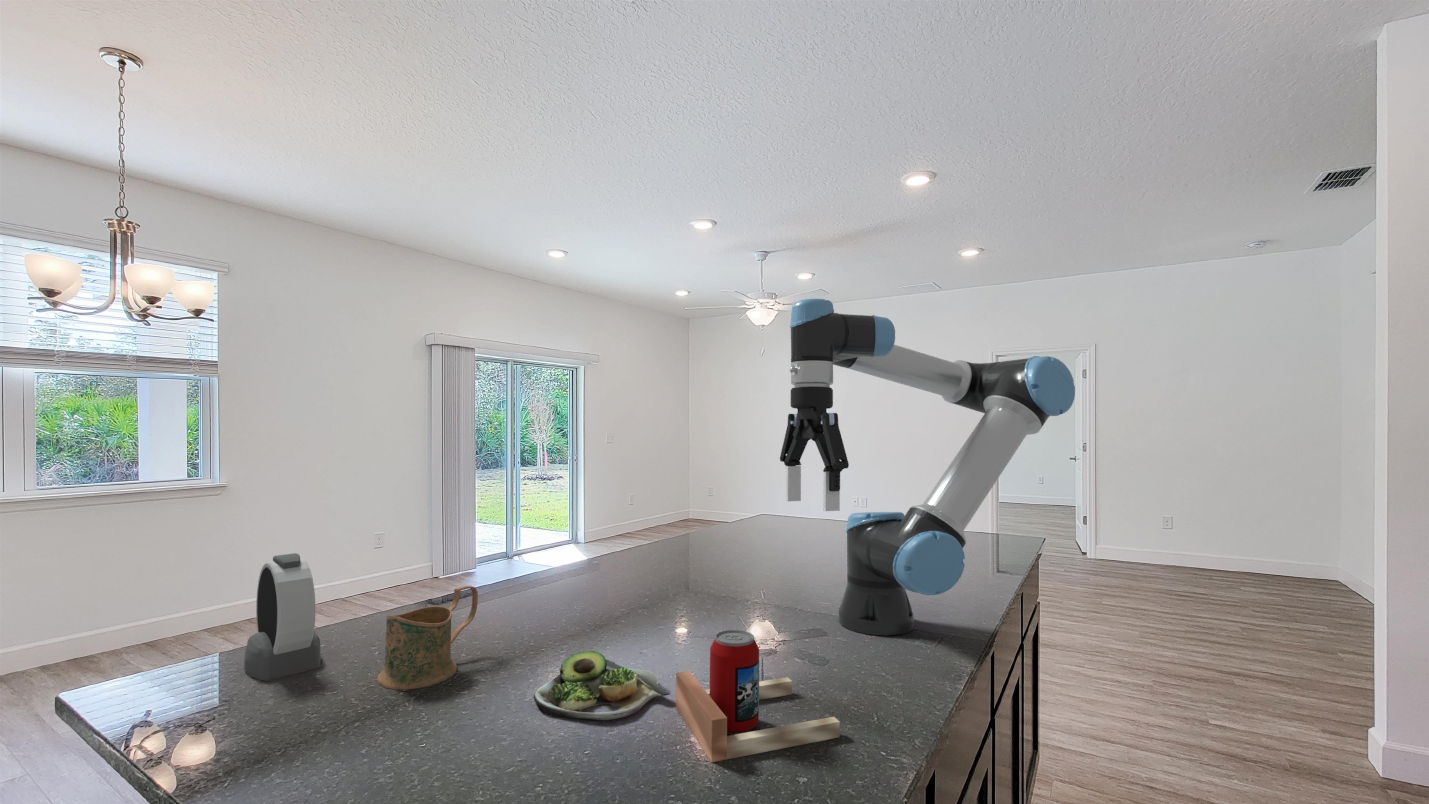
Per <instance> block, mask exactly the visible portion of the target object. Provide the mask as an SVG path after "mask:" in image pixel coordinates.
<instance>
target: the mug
mask: <svg viewBox="0 0 1429 804" xmlns="http://www.w3.org/2000/svg"><path fill="white" fill-rule="evenodd" d="M468 589H469V590H471V596H472V597H471V598H472V601H471V608H470V611H469V614H468V617H467V618H466V619H465V621H463V622H462V623H461V624H460V625H459V626H457V628H456V629H455V630H454V631H453V632H452V618H453V617H452V613H453V611H454V610H455V609H456V608H457V606H458V603H459V600H460V596H461V595H460V594H461V592H462V591H464V590H468ZM453 591H454V593H453V600H452V602H451V604H450V605H449V607H446V606H439V605H437V606H436V605H434V606H433V605H432V606H425V607H421V608H418V609H415V610H411V611H408V612H404V613H401V614H396V615H395V614H394V615H386V617H385V619H386V621H385V622H386V624H385V626H386V628H385V646H384V651H385V652H384V653H385V655H384V656H385V657H384V668H383V669H382V670H381V671H380V672H379V674H378V676H377V683H378V684H379V686H381V687H382V688H385V689H390V690H413V689H420V688H425V687H430V686H433V685H435V684H439V683H441V682H443V681H446V680H448V679H450V678H452V676H454V675H455V673H457V667H458V666H457V664H456V662H455V661H454V660H453V659H452V658H451V657H452V656H451V654H452V653H451V651H452V650H451V649H452V648H451V647H452V644H453V643H454V642H455V640H456V638H457V637H458V635H459V634H460V633H461V632H462V631H463V630H464V629H465V628H466V627H467V626H469V624H471V622H472V621H473V620H474V618H475V615H476V613H477V609H478V602H479V593H478V590H477V588H476V587H475V586H472V585H462V586H459V587H456V588H454V589H453Z"/></svg>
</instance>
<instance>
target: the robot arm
mask: <svg viewBox="0 0 1429 804" xmlns="http://www.w3.org/2000/svg"><path fill="white" fill-rule="evenodd" d="M789 328H790V367H789V372H790V384H791V385H792V386H793V385H794V387H792V388H791V389H790V407H791V409H797V411H796V412H797V413H788V414H787V424H786V425H787V426H786V430H785V434H784V438H783V443H782V448H781V452H780V454H779V455H780V456H779V461H780V462H781V463H784V466H785V469H786V470H785V473H786V474H785V475H786V476H785V482H786V483H785V486H786V487H785V501H786V502H801V500H802V499H801V498H802V496H801V495H802V490H801V489H802V485H801V484H802V473H801V472H802V462H801V458H802V456H803V454H804V452H805V449H806V447H807V444H808V442H809V441H810V440H811V441H814V443H815V445H816V448H817V451H818V453H819V454H820V458H821V459H822V462H823V464H824V468H823V470H822V472H823V473H822V475H823V481H822V482H823V483H822V485H823V487H822V488H823V489H822V491H823V492H822V495H823V497H822V498H823V499H822V501H823V502H822V503H823V504H822V506H823V507H822V510H823V511H824V512H835V511H836V512H837V511H838V512H839V511H840V509H841V505H840V504H841V503H840V501H841V499H840V496H841V494H840V493H841V492H840V491H841V472H842V471H843V470H844V469H849V466H850V465H849V461H848V457H847V452H846V450H845V444H844V441H843V438H842V435H841V430H840V425H839V416H838V412H827V409H831V408H833V405H834V389H832V387H831V385H833V384H834V366H837V367H840V368H846V369H848V370H850V371H851V370H852V371H854V372H855V371H856V372H859V373H861V374H862V373H863V374H864V375H865V374H867V375H868V376H873V377H876V378H880V379H883V380H887V381H889V382H890V381H891V382H894V383H897V384H901V385H904V386H908V387H911V388H915V389H917V390H921V391H925V392H929V393H932V394H935V395H938V396H941V397H942V399H943V400H944V401H945V402H947V403H950V404H953V405H956V406H959V407H962V408H967V409H969V410H972V411H975V412H978V413H983V414H984V415H982V417H981V418H980V420H979V421H978V423H977V424H976V426H975V427H974V429H973V430H972V432H971V434H970V435H969V436H968V437H967V439H966V440H965V442H964V443H963V445H962V446H961V448H960V449H959V451H958V452H957V453H956V455H955V457H954V458H953V460H952V461H951V462H950V464H949V465H948V467H947V469H946V470H945V471H944V472H943V474H942V476H941V477H940V478H939V480H938V481H937V483H936V484H935V486H934V487H933V489H932V490H931V492H930V493H929V494H928V496H927V498H926V499H925V500H924V501H923V503H922V504H917V505H912V506H910V507H909V508H908V510H907V512H906V513H903V512H902V511H877V512H876V511H870V512H854V513H851V514H850V515H849V516H848V518H847V524H846V532H845V533H847V534H846V545H847V546H846V549H847V550H846V556H847V557H846V562H847V565H846V571H847V572H846V575H847V577H846V578H847V579H846V581H847V582H846V586H845V591H844V593H843V597H842V599H841V602H840V605H839V608H838V622H839V623H840V624H841V625H842V627H844V628H846V629H848V630H851V631H854V632H858V633H862V634H867V635H874V636H899V635H904V634H907V633H910V632H912V631H913V630H914V628H915V615H914V613H913V609H912V606H911V603H910V602H911V601H910V600H909V596H908V593H907V591H910V592H911V593H917V594H919V595H920V594H921V595H924V596H937V595H940V594H941V595H942V594H944V593H946V592H947V591H949V590H951V589H952V588H953V587H954V586H955V585H956V584H957V583H958V582H959V580H960V579H961V577H962V575H963V573H964V569H965V565H966V564H965V563H964V560H965V558H966V556H965V551H964V547H965V546H966V544H967V540H966V536H965V529H967V527H968V525H969V524H970V522H971V520H972V519H973V517H974V516H975V514H976V513H977V512H978V509H979V508H980V507H981V505H982V503H983V502H984V501H985V499H986V497H987V496H988V495H989V493H990V492H991V490H992V488H993V487H994V486H995V484H996V482H998V479H999V478H1000V477H1001V475H1002V474H1003V472H1004V471H1005V469H1006V467H1007V465H1008V464H1009V463H1010V461H1011V460H1012V458H1013V457H1014V455H1015V454H1016V452H1017V450H1018V449H1019V448H1020V446H1021V444H1022V443H1023V441H1024V439H1025V438H1026V437H1027V436H1029V435H1035V434H1038V433H1039V432H1040V431H1041V430H1042V428H1043V427H1044V425H1045V423H1046V422H1047V420H1048V419H1049V418H1050V417H1059V416H1060V415H1063V414H1065V413H1067V412H1068V411H1069V410H1070V408H1072V406H1073V403H1074V400H1075V397H1076V385H1075V382H1074V381H1075V380H1074V378H1073V374H1072V372H1071V371H1070V369H1069V368H1068V367H1067V365H1066V364H1065V363H1064V362H1063V361H1061V360H1060V359H1058V358H1056V357H1053V356H1048V355H1046V356H1039V355H1033V356H1031V357H1028V358H1027V357H1026V358H1021V359H1020V358H1019V359H1013V360H1011V359H1009V360H1003V361H995V362H983V363H977V362H969V361H966V360H962V359H959V360H955V361H950V360H946V359H942V358H939V357H937V356H934V355H930V354H927V353H923V352H920V351H916V350H913V349H910V348H907V347H904V346H900V345H897V344H895V343H896V329H895V325H894V324H893V322H892V321H891V319H889V318H888V317H883V316H877V315H875V314H871V315H866V314H843V313H838V312H835V309H834V304H833V302H832V301H831V300H829V299H824V298H806V299H805V298H804V299H801V300H798V301H795V302H794V304H793V305H792V307H791V313H790V325H789Z"/></svg>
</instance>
